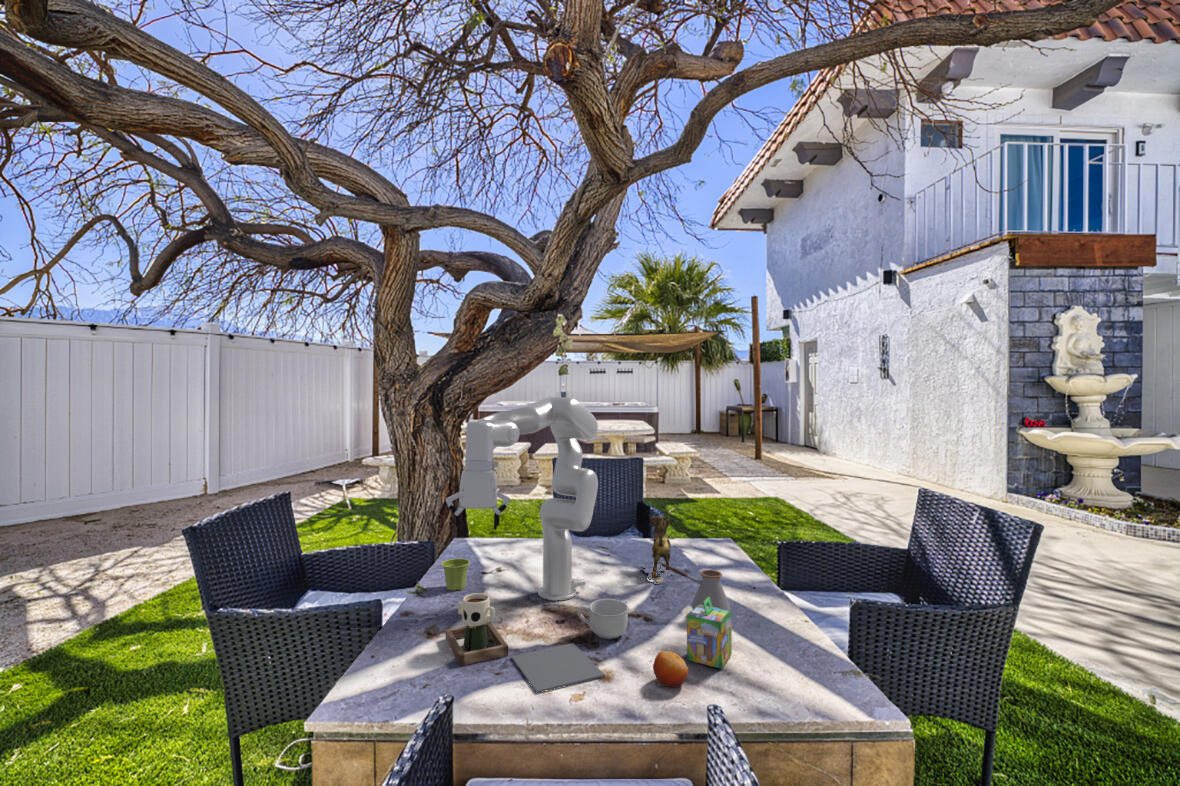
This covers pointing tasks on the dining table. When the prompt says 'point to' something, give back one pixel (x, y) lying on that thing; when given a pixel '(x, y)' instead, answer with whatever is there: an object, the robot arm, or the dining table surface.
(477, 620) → the character mug
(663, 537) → the figurine
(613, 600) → the teacup
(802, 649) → the dining table surface
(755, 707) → the dining table surface
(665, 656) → the fruit
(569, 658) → the rubber mat
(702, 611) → the chalk box
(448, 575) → the plant pot
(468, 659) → the collar
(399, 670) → the dining table surface
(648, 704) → the dining table surface
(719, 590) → the coffee pot
